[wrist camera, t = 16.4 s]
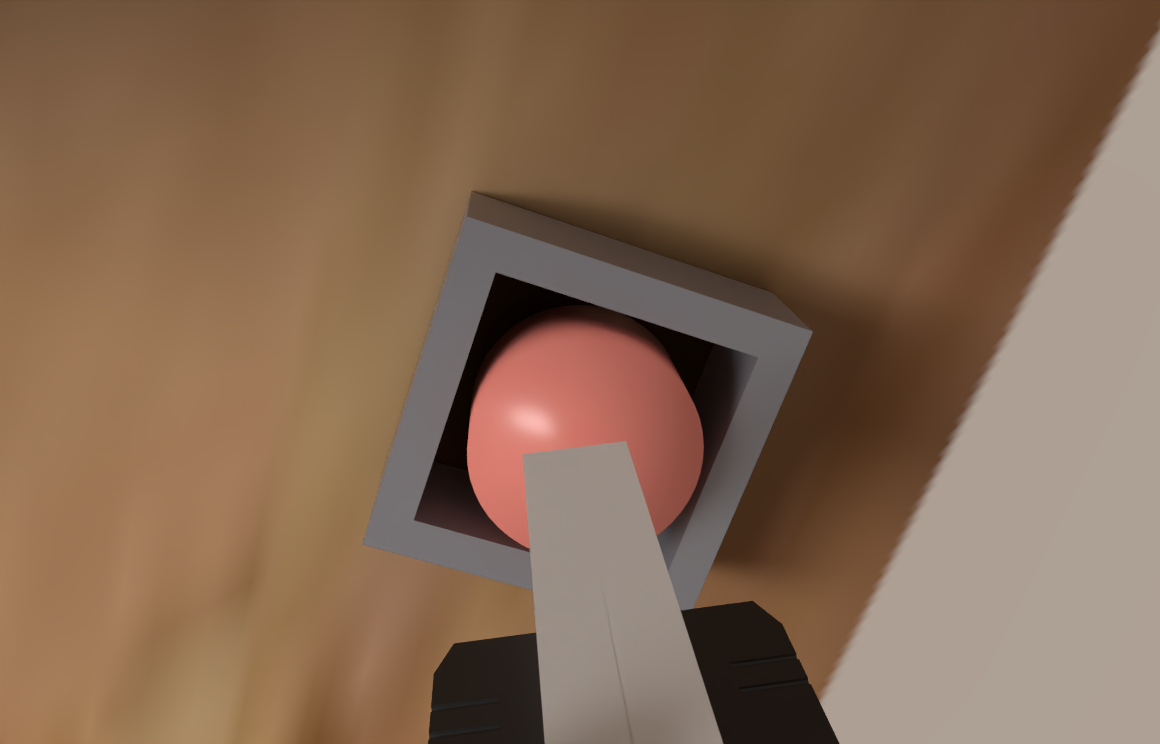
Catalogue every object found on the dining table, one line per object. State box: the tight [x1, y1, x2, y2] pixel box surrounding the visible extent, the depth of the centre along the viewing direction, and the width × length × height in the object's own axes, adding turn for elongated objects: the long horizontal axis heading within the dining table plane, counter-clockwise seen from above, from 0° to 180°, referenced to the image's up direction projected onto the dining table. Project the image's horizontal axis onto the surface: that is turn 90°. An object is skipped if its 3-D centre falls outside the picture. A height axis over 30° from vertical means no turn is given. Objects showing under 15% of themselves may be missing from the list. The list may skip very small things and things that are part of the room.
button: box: [467, 305, 704, 549], centre depth 20 cm, size 4×4×2 cm
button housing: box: [362, 191, 813, 610], centre depth 21 cm, size 7×7×3 cm
